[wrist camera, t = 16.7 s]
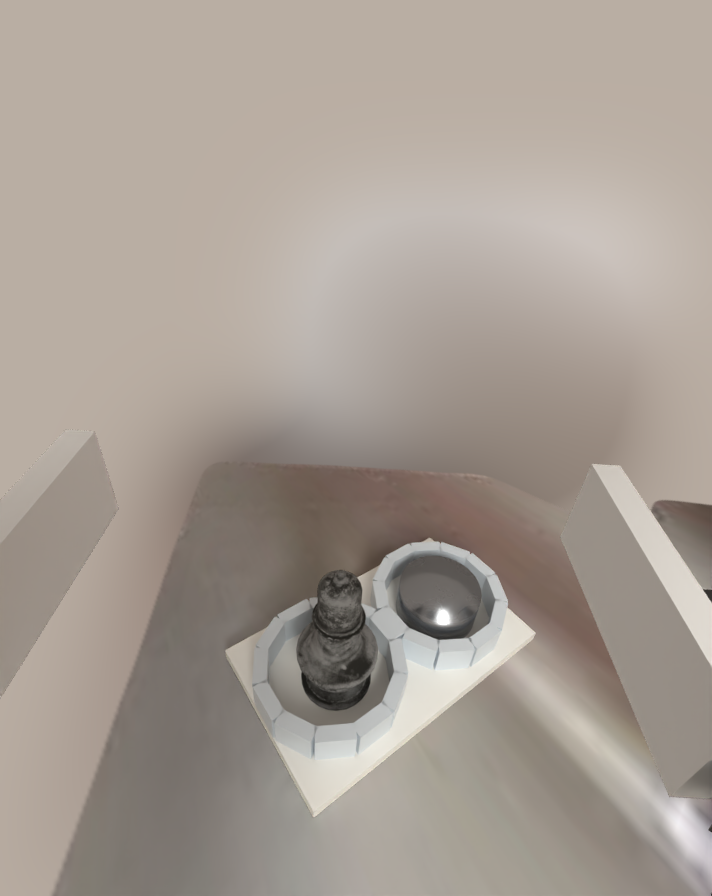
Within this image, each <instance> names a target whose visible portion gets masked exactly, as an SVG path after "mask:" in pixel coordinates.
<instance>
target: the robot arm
mask: <svg viewBox="0 0 712 896" xmlns="http://www.w3.org/2000/svg"><path fill="white" fill-rule="evenodd" d="M118 509H119V507H118V504H117V501H116V498H115V495H114V491H113V488H112V485H111V482H110V478H109V475H108V472H107V469H106V465H105V462H104V459H103V456H102V452H101V449H100V446H99V443H98V440H97V437H96V433H95V431H81V430H65V431H64V432H63V433H62V434H61V435H60V436H59V437H58V438H57V440H56V441H55V442H54V443H53V444H52V445H51V446H50V447H49V448H48V449H47V450H46V451H45V452H44V453H43V454H42V456H41V457H40V458H39V459H38V460H37V461H36V462H35V463H34V464H33V465H32V466H31V467H30V468H29V470H28V471H27V472H26V473H25V474H24V475H23V476H22V477H21V478H20V479H19V480H18V481H17V482H16V483H15V484H14V486H13V487H12V488H11V489H10V490H9V491H8V492H7V493H6V494H5V495H4V496H3V497H2V498H1V499H0V698H1V696H2V695H3V694H4V692H5V690H6V688H7V687H8V686H9V684H10V682H11V681H12V679H13V678H14V676H15V674H16V673H17V671H18V669H19V668H20V666H21V664H22V663H23V662H24V660H25V658H26V657H27V655H28V653H29V652H30V650H31V649H32V647H33V645H34V644H35V642H36V641H37V639H38V637H39V636H40V634H41V633H42V631H43V629H44V628H45V626H46V625H47V623H48V621H49V620H50V618H51V617H52V615H53V613H54V611H55V610H56V608H57V607H58V605H59V604H60V602H61V601H62V599H63V597H64V596H65V594H66V593H67V591H68V589H69V588H70V586H71V585H72V583H73V581H74V580H75V578H76V577H77V575H78V573H79V572H80V570H81V568H82V567H83V565H84V564H85V562H86V560H87V559H88V557H89V556H90V554H91V553H92V551H93V549H94V548H95V546H96V544H97V543H98V541H99V540H100V538H101V537H102V535H103V533H104V532H105V530H106V528H107V527H108V525H109V524H110V522H111V520H112V518H113V517H114V516H115V514H116V512H117V511H118ZM560 538H561V540H562V543H563V545H564V547H565V550H566V552H567V555H568V557H569V559H570V562H571V564H572V566H573V569H574V571H575V574H576V576H577V578H578V581H579V583H580V585H581V588H582V590H583V593H584V595H585V597H586V600H587V602H588V604H589V607H590V609H591V612H592V614H593V616H594V619H595V621H596V623H597V626H598V628H599V631H600V633H601V635H602V638H603V640H604V642H605V645H606V647H607V650H608V652H609V654H610V657H611V659H612V661H613V664H614V666H615V669H616V671H617V673H618V676H619V678H620V680H621V683H622V685H623V688H624V690H625V692H626V695H627V697H628V699H629V702H630V704H631V707H632V709H633V711H634V714H635V716H636V719H637V721H638V723H639V726H640V728H641V730H642V733H643V735H644V738H645V740H646V742H647V745H648V747H649V749H650V752H651V754H652V757H653V759H654V761H655V764H656V766H657V768H658V771H659V773H660V776H661V778H662V780H663V783H664V785H665V787H666V790H667V792H668V795H669V797H683V798H699V799H711V798H712V590H704V589H702V588H701V586H700V585H699V583H698V582H697V580H696V579H695V577H694V576H693V574H692V573H691V571H690V570H689V568H688V567H687V565H686V564H685V562H684V561H683V559H682V558H681V556H680V555H679V553H678V552H677V550H676V549H675V547H674V545H673V544H672V542H671V541H670V539H669V538H668V536H667V535H666V533H665V532H664V530H663V529H662V527H661V526H660V524H659V523H658V521H657V520H656V518H655V517H654V515H653V514H652V512H651V511H650V509H649V508H648V506H647V505H646V504H645V502H644V501H643V499H642V497H641V496H640V494H639V493H638V491H637V490H636V488H635V487H634V485H633V484H632V482H631V481H630V480H629V478H628V476H627V475H626V474H625V472H624V470H623V469H622V468H621V466H616V465H601V464H592V465H591V467H590V469H589V472H588V474H587V476H586V478H585V481H584V483H583V485H582V488H581V490H580V492H579V494H578V497H577V499H576V501H575V504H574V506H573V508H572V511H571V513H570V515H569V518H568V520H567V522H566V525H565V527H564V529H563V532H562V534H561V536H560ZM709 831H711V832H712V825H711V826H710V828H709ZM711 896H712V894H711Z"/></svg>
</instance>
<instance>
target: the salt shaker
mask: <svg viewBox="0 0 712 896" xmlns="http://www.w3.org/2000/svg"><path fill="white" fill-rule="evenodd" d="M361 601H362V586H361V583H360V581H359V579H358V578H357V577H356V576H355V575H353V574H352V573H350V572H347V571H343V570H336V571H332V572H330V573H328V574H326V575H325V576H324V577H323V578H322V579H321V581H320V582H319V585H318V602H317V604H316V605H315V607H314V609H313V612H312V622H311V623H309V624H308V625H307V626H306V628H305V629H304V630H303V631H302V633H301V635H300V637H299V639H298V642H297V647H296V654H297V661H298V664H299V666H300V669H301V671H302V673H301V679H302V686H303V689H304V691H305V693H306V695H307V696H308V697H309V699H310V700H311V701H312V702H313V703H315V704H316V705H317V706H319V707H322V708H324V709H327V710H334V711H338V710H345V709H348V708H350V707H352V706H354V705H356V704H357V703H358V702H359V701H361V700H362V699H363V697H364V696H365V694H366V693H367V691H368V688H369V685H370V680H371V672H372V671H373V669H374V667H375V665H376V662H377V659H378V645H377V641H376V638H375V636H374V634H373V632H372V630H371V629H370V628H369V627H368V626H367V625H366V624H365V620H366V615H365V610H364V608H363V607H362V605H361Z"/></svg>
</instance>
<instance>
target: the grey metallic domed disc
mask: <svg viewBox="0 0 712 896" xmlns="http://www.w3.org/2000/svg"><path fill="white" fill-rule="evenodd" d="M481 598H482V593H481V588H480V585H479V582H478V580H477V579H476V577H475V576H474V575H473V573H472V572H471V571H470V570H469V569H468V568H466V567H465V566H464V565H462V564H461V563H459V562H457V561H455V560H452V559H450V558H446V557H442V556H425V557H421V558H418V559H416V560H414V561H412V562H410V563H409V564H408V565H407V566H406V567H405V568H404V570H403V572H402V574H401V577H400V583H399V589H398V595H397V600H396V611H397V615H398V616H399V618H400V619H401V620H402V621H403V622H404V623H405V624H406V625H407V626H408V628H410V629H413V630H415V631H418V632H420V633H422V634H425V635H427V636H430V637H432V638H435V639H437V640H448V639H463V638H464V637H466V636H467V635H468V634H469V632H470V631H471V629H472V627H473V624H474V621H475V618H476V615H477V612H478V609H479V606H480V603H481Z"/></svg>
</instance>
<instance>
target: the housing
mask: <svg viewBox="0 0 712 896" xmlns="http://www.w3.org/2000/svg"><path fill="white" fill-rule="evenodd" d="M469 554H470V552H469V551H466V550H463V549H460V548H458V547H455V546H452V545H449V544H446V543H443V542H442V543H441V545H440V543H439V542H434V541H433V540H432V539H431V538H428V539H426V540H425V541H423V542H416V543H411V545H410V544H409V543H408V544H406V545H405V546H403V547H401V548H399V549H397V550H395V551H393V552H392V553H390V554H388V555H386V558H385V557H384V559H383V561H382V563H381V564H380V565H379V566H377V567H376V568H374V569H372V570H370V571H368V572H366V573H365V574H363V575H361V576H359V577H357V578H358V579H359V581H360V583H361V586H362V601H361V605H362V607H363V608H364V610H365V615H366V620H365V624H366V625H367V626H368V627H369V628H370V629H371V630H372V632H373V634H374V636H375V638H376V641H377V645H378V659H377V662H376V665H375V667H374V669H373V671H372V672H371V680H370V685H369V688H368V691H367V693H366V694H365V696H364V697H363V699H362V700H361V701H359V702H358V703H357V704H356V705H354V706H352V707H350V708H348V709H345V710H338V711H334V710H327V709H324V708H322V707H319V706H317V705H316V704H315V703H313V702H312V701H311V700H310V699H309V697H308V696H307V695H306V693H305V691H304V689H303V686H302V679H301V673H302V671H301V669H300V666H299V664H298V661H297V654H296V647H297V642H298V639H299V637H300V635H301V633H302V631H303V630H304V629H305V628H306V626H307V625H308V624H309V623H311V622H312V612H313V609H314V607H315V605H316V604H317V602H318V597H313V598H309V601H308V600H307V599H305V600H303V601H301V602H299V603H297V604H295V605H294V606H292V607H290V608H288V609H286V610H284V611H283V612H281V613H279V614H277V617H274V618H273V620H272V621H271V623H270V624H269V626H268V627H266V628H265V629H263V630H261V631H259V632H257V633H255V634H254V635H252V636H250V637H248V638H246V639H244V640H243V641H241V642H239V643H237V644H235V645H234V646H232V647H230V648H228V649H226V650H225V653H226V658H227V660H228V661H229V663H230V665H231V667H232V669H233V671H234V672H235V674H236V676H237V678H238V680H239V682H240V684H241V685H242V687H243V689H244V691H245V693H246V695H247V696H248V698H249V700H250V702H251V704H252V706H253V707H254V709H255V711H256V713H257V715H258V717H259V719H260V720H261V722H262V724H263V726H264V728H265V730H266V731H267V733H268V735H269V737H270V739H271V741H272V743H273V744H274V746H275V748H276V750H277V752H278V754H279V755H280V757H281V759H282V761H283V763H284V765H285V766H286V768H287V770H288V772H289V774H290V776H291V778H292V779H293V781H294V783H295V785H296V787H297V789H298V790H299V792H300V794H301V796H302V798H303V800H304V801H305V803H306V805H307V807H308V809H309V811H310V813H311V814H312V816H313V818H314V817H315V816H317V815H318V814H319V813H320V812H321V811H323V810H324V809H325V808H326V807H328V806H329V805H330V804H331V803H333V802H334V801H335V800H336V799H337V798H339V797H340V796H341V795H342V794H344V793H345V792H346V791H347V790H349V789H350V788H351V787H352V786H353V785H355V784H356V783H357V782H358V781H360V780H361V779H362V778H363V777H364V776H366V775H367V774H368V773H369V772H371V771H372V770H373V769H374V768H376V767H377V766H378V765H379V764H380V763H382V762H383V761H384V760H385V759H387V758H388V757H389V756H390V755H392V754H393V753H394V752H395V751H396V750H398V749H399V748H400V747H401V746H403V745H404V744H405V743H406V742H407V741H409V740H410V739H411V738H412V737H414V736H415V735H416V734H417V733H419V732H420V731H421V730H422V729H423V728H425V727H426V726H427V725H428V724H430V723H431V722H432V721H433V720H435V719H436V718H437V717H438V716H439V715H441V714H442V713H443V712H444V711H446V710H447V709H448V708H449V707H450V706H452V705H453V704H454V703H455V702H457V701H458V700H459V699H460V698H462V697H463V696H464V695H465V694H466V693H468V692H469V691H470V690H471V689H473V688H474V687H475V686H476V685H478V684H479V683H480V682H481V681H482V680H484V679H485V678H486V677H487V676H489V675H490V674H491V673H492V672H493V671H495V670H496V669H497V668H498V667H500V666H501V665H502V664H503V663H505V662H506V661H507V660H508V659H509V658H511V657H512V656H513V655H514V654H516V653H517V652H518V651H519V650H521V649H522V648H523V647H524V646H525V645H527V644H528V643H529V642H530V641H532V640H533V638H534V635H535V632H534V631H533V630H532V629H531V628H530V627H529V626H527V625H526V624H525V623H524V622H523V621H522V620H521V619H520V618H519V617H517V616H516V615H515V614H514V613H513V612H512V611H511V610H510V609H509V608H507V606H508V603H507V601H508V600H507V598H506V595H505V593H504V591H503V588H502V586H501V584H500V581H499V579H498V577H497V575H495V572H494V571H493V570H491V569H490V568H489V567H488V566H487V565H486V564H484V563H483V562H482V561H481V560H480V559H479V558H477V557H476V556H475V555H474V554H473V553H472V554H470V555H469ZM425 556H442V557H446V558H450V559H452V560H455V561H457V562H459V563H461V564H462V565H464V566H465V567H466V568H468V569H469V570H470V571H471V572H472V573H473V575H474V576H475V577H476V579H477V580H478V582H479V585H480V588H481V593H482V598H481V603H480V606H479V609H478V612H477V615H476V618H475V621H474V624H473V627H472V629H471V631H470V632H469V634H468V635H467V636H466V637H464V638H463V639H448V640H437V639H435V638H432V637H430V636H427V635H425V634H422V633H420V632H418V631H415V630H413V629H410V628H408V626H407V625H406V624H405V623H404V622H403V621H402V620H401V619H400V618H399V616H398V615H397V611H396V600H397V595H398V589H399V583H400V577H401V574H402V572H403V570H404V568H405V567H406V566H407V565H408V564H409V563H410V562H412V561H414V560H416V559H418V558H421V557H425Z"/></svg>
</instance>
